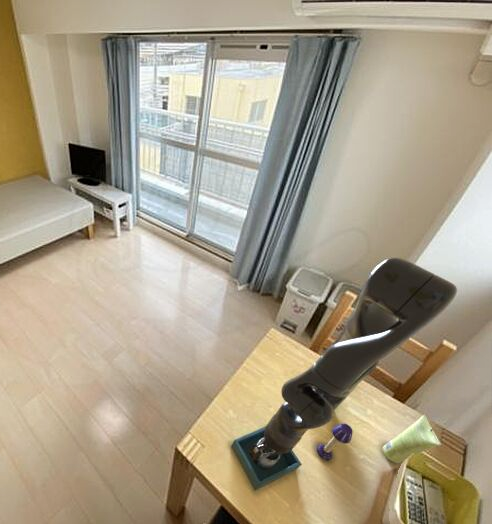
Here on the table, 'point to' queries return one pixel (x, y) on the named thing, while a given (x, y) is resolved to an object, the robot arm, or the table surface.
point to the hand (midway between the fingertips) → (266, 453)
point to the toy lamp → (335, 440)
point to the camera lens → (268, 459)
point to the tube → (411, 441)
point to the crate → (254, 471)
